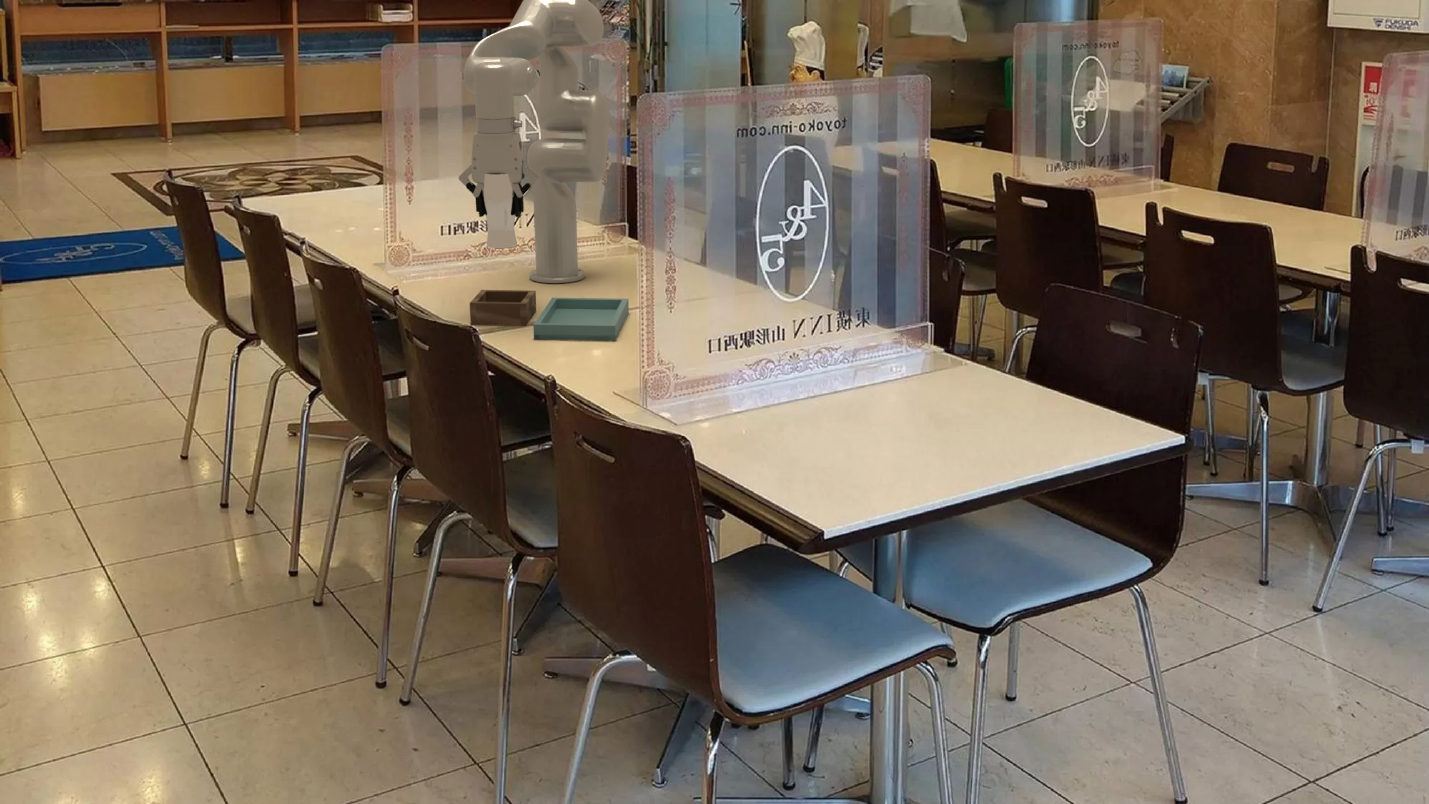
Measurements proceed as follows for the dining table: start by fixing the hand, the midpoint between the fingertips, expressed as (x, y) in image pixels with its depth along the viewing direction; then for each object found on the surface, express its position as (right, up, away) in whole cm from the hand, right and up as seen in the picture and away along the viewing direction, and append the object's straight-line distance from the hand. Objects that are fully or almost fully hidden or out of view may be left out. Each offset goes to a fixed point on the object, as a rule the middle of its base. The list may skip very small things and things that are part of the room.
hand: (500, 215), depth 300 cm
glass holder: (0, -20, +6) cm, 21 cm away
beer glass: (0, -6, +2) cm, 6 cm away
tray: (+17, -22, 0) cm, 28 cm away
